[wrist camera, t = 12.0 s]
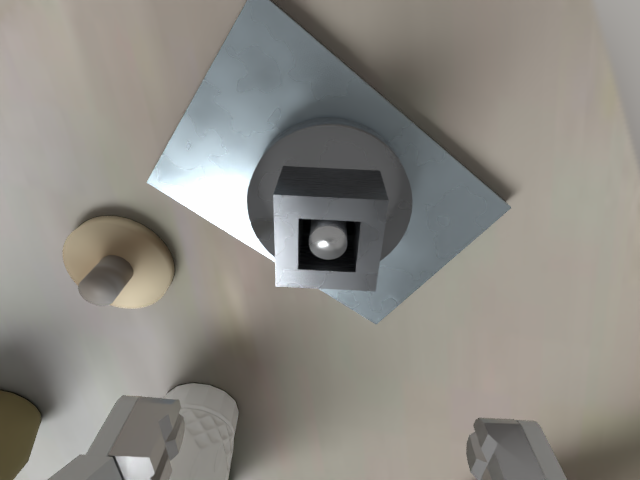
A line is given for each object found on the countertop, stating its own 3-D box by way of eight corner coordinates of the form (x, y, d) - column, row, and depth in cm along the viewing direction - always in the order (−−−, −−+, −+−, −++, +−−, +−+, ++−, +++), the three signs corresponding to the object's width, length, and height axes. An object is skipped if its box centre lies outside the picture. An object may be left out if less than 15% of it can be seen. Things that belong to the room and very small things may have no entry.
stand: (192, 253, 26) (173, 285, 23) (149, 314, 29) (128, 348, 26) (92, 195, 24) (57, 221, 21) (58, 267, 27) (23, 299, 24)
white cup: (165, 367, 32) (103, 497, 23) (255, 391, 33) (227, 523, 25) (153, 420, 36) (96, 548, 27) (234, 439, 37) (203, 568, 28)
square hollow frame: (380, 170, 19) (388, 200, 16) (369, 252, 22) (375, 291, 19) (282, 165, 19) (273, 194, 16) (283, 248, 22) (275, 286, 19)
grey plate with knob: (505, 201, 23) (558, 259, 18) (375, 316, 28) (384, 388, 23) (257, -12, 18) (224, -23, 12) (152, 177, 23) (96, 227, 18)
